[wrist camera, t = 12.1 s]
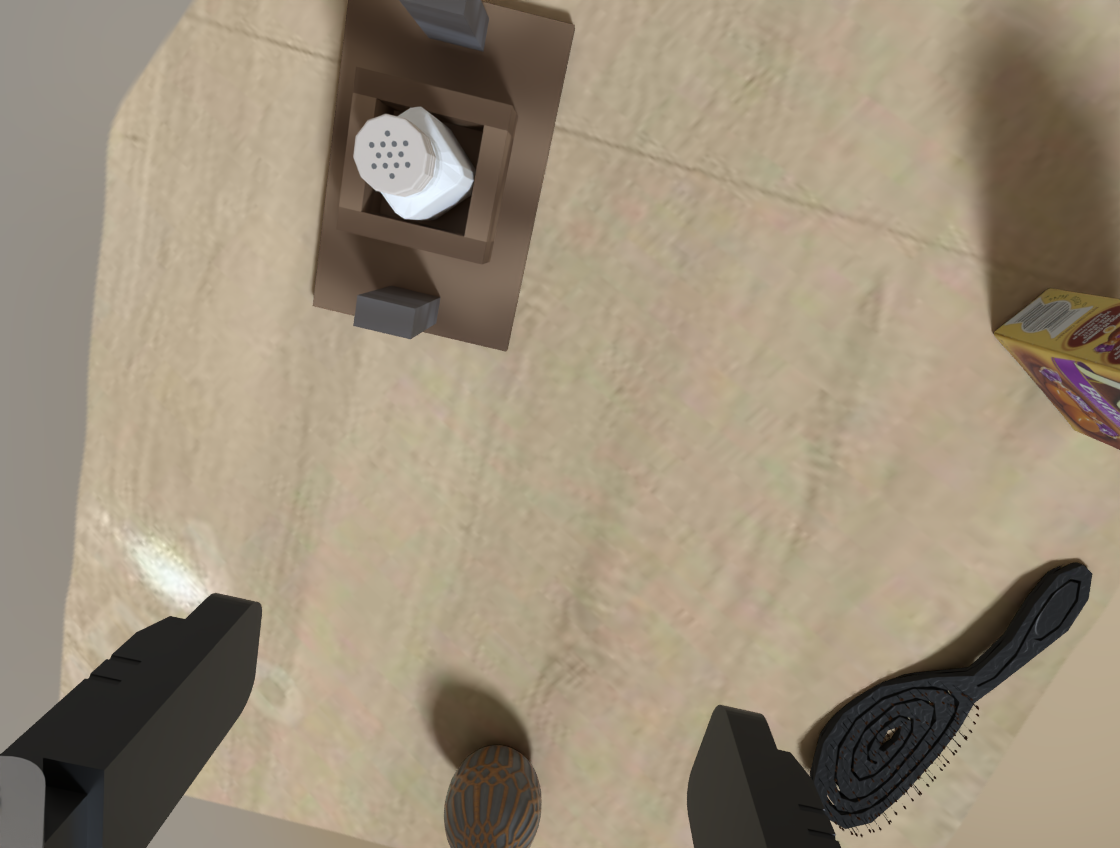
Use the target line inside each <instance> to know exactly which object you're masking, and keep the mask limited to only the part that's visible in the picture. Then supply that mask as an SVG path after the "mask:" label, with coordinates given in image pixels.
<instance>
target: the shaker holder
mask: <svg viewBox="0 0 1120 848" xmlns="http://www.w3.org/2000/svg"><path fill="white" fill-rule="evenodd" d="M574 31H575V25H573V24H569V23H565V22H561V21H557V20H553V19H549V18H545V17H541V16H537V15H533V14H529V13H525V12H522V11H518V10H514V9H510V8H506V7H502V6H498V5H494V4H490V3H486V2H482V1H481V0H348V8H347V16H346V25H345V34H344V42H343V51H342V59H341V68H340V77H339V85H338V94H337V103H336V111H335V120H334V128H333V137H332V146H331V154H330V163H329V171H328V180H327V189H326V197H325V206H324V214H323V223H322V232H321V240H320V249H319V257H318V266H317V275H316V283H315V292H314V300H313V306H315V307H319V308H324V309H328V310H332V311H336V312H341V313H345V314H349V315H353V316H355V317H354V325H353V326H357V327H361V328H365V329H369V330H374V331H378V332H382V333H386V334H391V335H395V336H399V337H403V338H408V339H412V338H413V337H415V336H416V335H418V334H420V333H421V332H425V333H430V334H434V335H438V336H442V337H447V338H451V339H455V340H459V341H464V342H468V343H472V344H476V345H481V346H485V347H489V348H493V349H498V350H502V351H507V349H508V345H509V340H510V335H511V331H512V326H513V321H514V316H515V312H516V307H517V302H518V297H519V293H520V288H521V283H522V278H523V274H524V269H525V264H526V259H527V255H528V250H529V245H530V240H531V235H532V231H533V226H534V221H535V216H536V212H537V207H538V202H539V197H540V193H541V188H542V183H543V178H544V174H545V169H546V164H547V159H548V155H549V150H550V145H551V140H552V135H553V131H554V126H555V121H556V116H557V112H558V107H559V102H560V97H561V93H562V88H563V83H564V78H565V74H566V69H567V64H568V59H569V55H570V50H571V45H572V40H573V35H574ZM413 107H422V108H424V109H425V110H426V111H428V112H429V113H430V114H432V115H433V116H434V117H435V118H437V119H438V120H439V121H440V122H442V123H443V124H444V125H446V126H447V127H448V128H449V129H451V131H452V132H453V134H454V136H455V137H456V139H457V140H458V142H459V144H460V145H461V147H462V148H463V150H464V152H465V153H466V155H467V157H468V158H469V160H470V161H471V163H472V165H473V166H474V168H475V169H476V174H475V180H474V185H473V191H472V195H471V196H469V197H468V198H466V199H465V200H463V201H462V202H461V203H459V204H458V205H456V206H455V207H453V208H452V209H450V210H449V211H448V212H446V213H445V214H443V215H442V216H440V217H439V218H437V219H435V220H430V221H426V220H413V219H404V218H402V217H401V216H399V215H398V214H396V213H395V211H394V210H393V209H392V207H391V206H390V205H389V203H388V202H387V201H386V199H385V198H384V196H383V195H382V193H381V192H379V191H376V190H374V189H373V188H372V187H371V186H370V185H369V184H368V183H367V182H366V181H365V180H364V179H363V178H361V176H360V174H359V171H358V168H357V166H356V163H355V160H354V158H353V154H354V146H355V138H356V135H357V134H358V132H359V131H360V130H361V128H362V127H363V126H364V124H365V123H366V122H367V120H370V119H373V118H375V117H378V116H381V115H384V114H389V115H393V116H399V115H400V114H402V113H403V112H405V111H407V110H408V109H410V108H413Z"/></svg>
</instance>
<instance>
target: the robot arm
mask: <svg viewBox="0 0 1120 848" xmlns="http://www.w3.org/2000/svg"><path fill="white" fill-rule="evenodd" d="M261 618H262V607H261V604H260V603H259V602H255V601H251V600H246V599H242V598H237V597H233V596H228V595H223V594H219V593H213V594H211V595H210V596H209V597H207V598H206V599H205V600H204V601H203V602H202V603H201V604H200V605H199V606H198V607H197V608H196V609H195V610H194V611H193V612H192V613H191V614H190V615H189V616H188V617H187V618H186V619H182V618H177V617H172V616H169V617H167V618H165V619H163V620H161V621H159V622H157V623H155V624H153V625H151V626H149V627H147V628H145V629H142V630H140V631H138V632H136V633H135V634H134V635H133V636H132V637H131V638H130V639H129V640H128V641H126V642H125V643H124V644H123V645H122V646H121V647H120V648H119V649H117V650H116V651H115V652H114V653H113V654H112V656H111V658H110V659H109V660H108V659H106V660H105V661H104V662H103V663H102V664H101V665H100V666H98V667H97V668H96V669H95V670H94V671H93V672H92V673H91V674H90V677H89V678H88V679H84V680H83V681H82V682H81V683H80V684H78V685H77V686H76V687H75V688H74V689H73V690H72V691H71V692H69V693H68V694H67V695H66V696H65V697H64V698H63V699H62V700H61V701H59V702H58V703H57V704H56V705H55V706H54V707H53V708H52V709H51V710H49V711H48V712H47V713H46V714H45V715H44V716H43V717H42V718H41V719H39V720H38V721H37V722H36V723H35V724H34V725H33V726H32V727H31V728H29V729H28V730H27V731H26V732H25V733H24V734H23V735H22V736H20V737H19V738H18V739H17V740H16V741H15V742H14V743H13V744H12V745H10V746H9V747H8V748H7V749H6V750H5V751H4V752H3V753H1V754H0V848H146V847H147V846H148V844H149V843H150V841H151V840H152V839H153V837H154V836H155V834H156V833H157V832H158V830H159V829H160V827H161V826H162V824H163V823H164V822H165V820H166V819H167V817H168V816H169V815H170V813H171V812H172V810H173V809H174V807H175V806H176V805H177V803H178V802H179V800H180V799H181V798H182V796H183V795H184V793H185V792H186V791H187V789H188V788H189V786H190V785H191V784H192V782H193V781H194V779H195V778H196V777H197V775H198V774H199V772H200V771H201V770H202V768H203V767H204V765H205V764H206V762H207V761H208V760H209V758H210V757H211V755H212V754H213V753H214V751H215V750H216V748H217V747H218V746H219V744H220V743H221V741H222V740H223V739H224V737H225V736H226V734H227V733H228V731H229V730H230V729H231V727H232V726H233V724H234V723H235V722H236V720H237V719H238V717H239V716H240V714H241V713H242V711H243V709H244V707H245V705H246V703H247V701H248V699H249V696H250V693H251V690H252V687H253V684H254V680H255V673H256V664H257V655H258V646H259V636H260V627H261ZM687 810H688V817H689V822H690V828H691V833H692V839H693V844H694V848H841V846H840V844H839V841H836V840H835V835H836V834H835V832H834V829H833V827H832V825H831V822H830V820H829V818H828V816H827V815H825V808H824V806H823V803H822V801H821V799H820V796H819V794H818V791H817V789H816V787H815V784H814V782H813V780H812V779H811V777H810V776H809V775H808V774H807V772H806V771H805V770H804V769H803V767H802V766H801V765H800V764H799V762H798V761H797V760H796V759H795V757H794V756H793V755H792V754H791V753H790V752H786V751H782V750H777V747H776V744H775V742H774V739H773V736H772V734H771V731H770V728H769V726H768V723H767V721H766V719H765V717H764V716H763V715H762V714H760V713H755V712H751V711H746V710H742V709H737V708H733V707H728V706H723V705H718V706H717V707H716V708H715V709H714V711H713V713H712V716H711V719H710V721H709V724H708V727H707V729H706V732H705V735H704V737H703V740H702V743H701V746H700V748H699V751H698V754H697V756H696V759H695V762H694V765H693V767H692V770H691V773H690V777H689V782H688V791H687Z"/></svg>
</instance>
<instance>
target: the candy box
mask: <svg viewBox="0 0 1120 848" xmlns="http://www.w3.org/2000/svg"><path fill="white" fill-rule="evenodd" d="M994 336H995V337H996V338H997V339H998V340H999V342H1000V343H1001V344H1002V345H1003V346H1004V347H1005V348H1006V349H1007V350H1008V351H1009V352H1010V354H1011V355H1012V356H1013V357H1014V358H1015V359H1016V361H1017V362H1018V363H1019V364H1020V365H1021V366H1022V367H1023V369H1024V370H1025V371H1026V372H1027V373H1028V375H1029V376H1030V377H1031V378H1032V379H1033V381H1034V382H1035V383H1036V384H1037V385H1038V387H1039V388H1040V389H1041V390H1042V391H1043V392H1044V394H1045V395H1046V396H1047V397H1048V399H1049V400H1050V401H1051V402H1052V403H1053V405H1054V406H1055V407H1056V408H1057V409H1058V410H1059V411H1060V413H1061V414H1062V415H1063V416H1064V418H1065V419H1066V420H1067V421H1068V423H1069V424H1070V425H1071V426H1072V428H1073V429H1074V430H1075V431H1078V432H1080V433H1082V434H1085V435H1087V436H1089V437H1091V438H1094V439H1096V440H1098V441H1101V442H1103V443H1106V444H1108V445H1110V446H1112V447H1115V448H1117V449H1119V450H1120V299H1116V298H1109V297H1103V296H1097V295H1090V294H1083V293H1077V292H1070V291H1064V290H1059V289H1052V288H1049V289H1047V290H1046V291H1045V292H1043V293H1042V294H1041V295H1040V296H1038V297H1037V298H1036V299H1035V300H1034V301H1032V302H1031V303H1030V304H1029V305H1027V306H1026V307H1025V308H1024V309H1022V310H1021V311H1020V312H1019V313H1018V314H1016V315H1015V316H1014V317H1013V318H1011V319H1010V320H1009V321H1008V322H1006V323H1005V324H1004V325H1002V326H1001V327H1000V328H998V329H997V330H996V331H995V332H994Z"/></svg>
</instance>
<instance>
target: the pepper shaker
mask: <svg viewBox="0 0 1120 848" xmlns="http://www.w3.org/2000/svg"><path fill="white" fill-rule="evenodd" d="M353 158H354V160H355V163H356V166H357V168H358V171H359V174H360V176H361V178H363V179H364V180H365V181H366V182H367V183H368V184H369V185H370V186H371V187H372V188H373V189H374V190H376V191H379V192H381V193H382V195H383V196H384V198H385V199H386V201H387V202H388V203H389V205H390V206H391V207H392V209H393V210H394V211H395V213H396V214H398V215H399V216H401V217H402V218H404V219H413V220H426V221H430V220H435V219H437V218H439V217H440V216H442V215H443V214H445V213H446V212H448V211H449V210H450V209H452V208H453V207H455V206H456V205H458V204H459V203H461V202H462V201H463V200H465V199H466V198H468V197H469V196H471V195H472V191H473V185H474V180H475V174H476V169H475V168H474V166H473V165H472V163H471V161H470V160H469V158H468V157H467V155H466V153H465V152H464V150H463V148H462V147H461V145H460V144H459V142H458V140H457V139H456V137H455V136H454V134H453V132H452V131H451V129H449V128H448V127H447V126H446V125H444V124H443V123H442V122H440V121H439V120H438V119H437V118H435V117H434V116H433V115H432V114H430V113H429V112H428V111H426V110H425V109H424V108H422V107H413V108H410V109H408V110H407V111H405V112H403V113H402V114H400V115H399V116H393V115H389V114H384V115H381V116H378V117H375V118H373V119H370V120H367V122H366V123H365V124H364V126H363V127H362V128H361V130H360V131H359V132H358V134H357V135H356V138H355V146H354V154H353Z"/></svg>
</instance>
